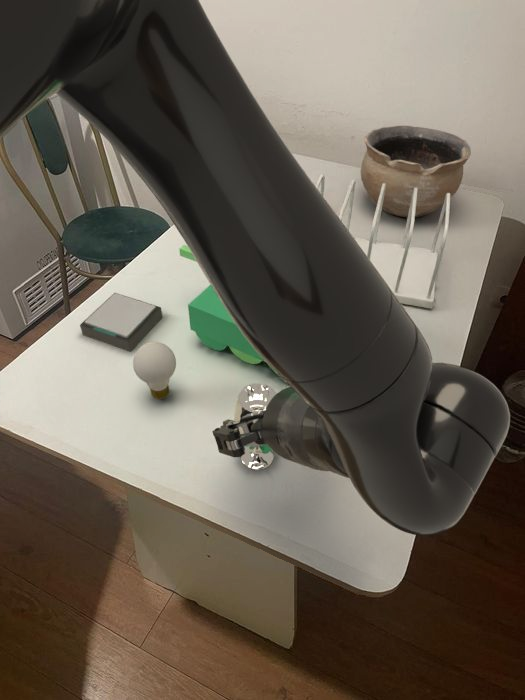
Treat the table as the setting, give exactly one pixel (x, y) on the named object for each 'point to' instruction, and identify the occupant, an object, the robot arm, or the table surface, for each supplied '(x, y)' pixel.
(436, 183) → the ceramic bowl
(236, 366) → the table surface
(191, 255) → the toy tank
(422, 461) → the robot arm
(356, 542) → the table surface
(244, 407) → the wineglass
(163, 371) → the light bulb
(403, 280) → the file sorter
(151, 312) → the kitchen scale
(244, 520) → the table surface
